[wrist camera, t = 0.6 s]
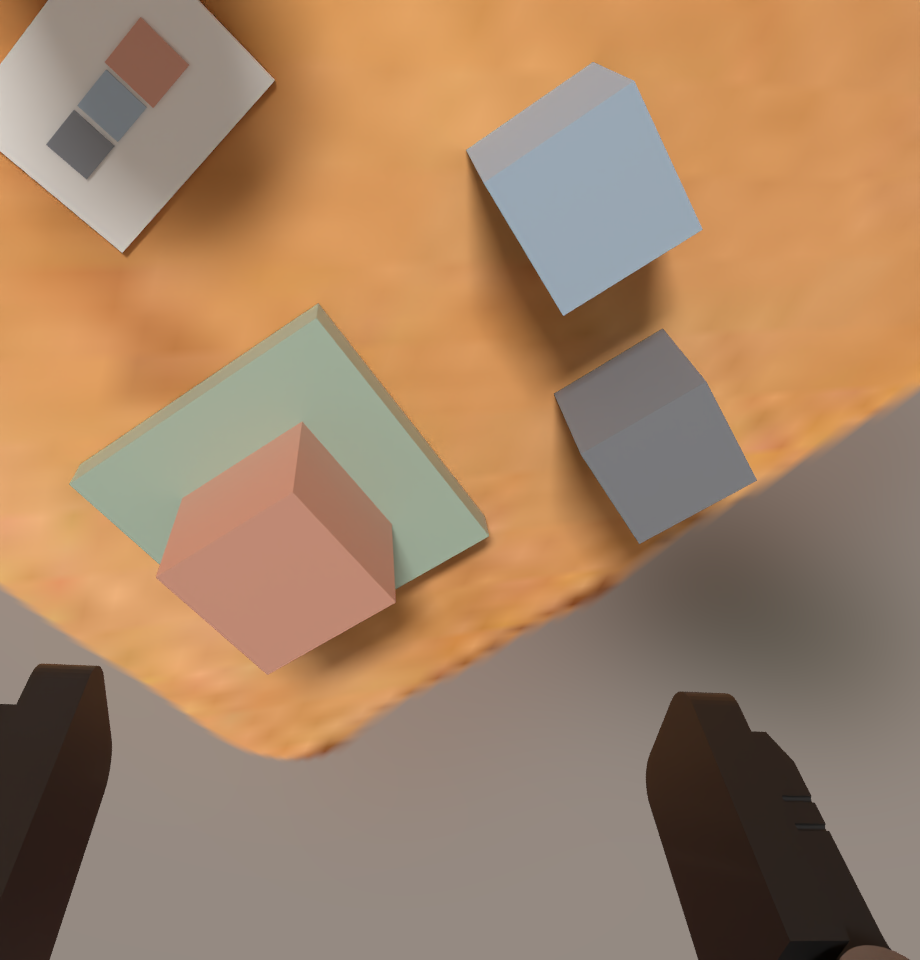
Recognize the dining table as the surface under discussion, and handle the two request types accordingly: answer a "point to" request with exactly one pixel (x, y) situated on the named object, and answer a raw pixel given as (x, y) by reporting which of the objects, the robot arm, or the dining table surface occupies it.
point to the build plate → (268, 414)
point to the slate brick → (654, 436)
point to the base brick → (281, 551)
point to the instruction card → (122, 104)
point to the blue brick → (586, 185)
